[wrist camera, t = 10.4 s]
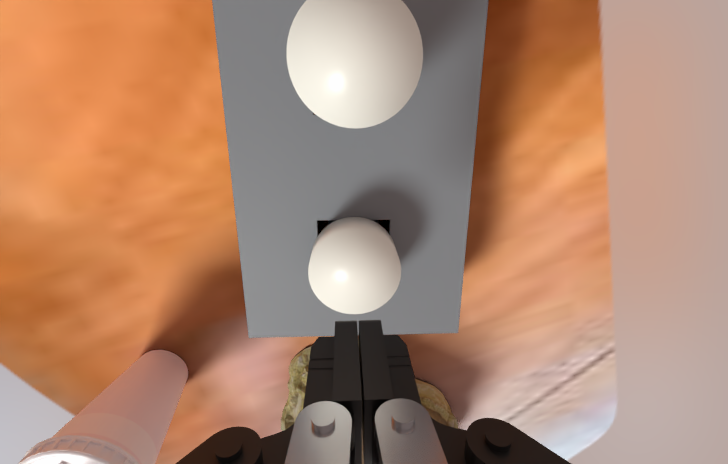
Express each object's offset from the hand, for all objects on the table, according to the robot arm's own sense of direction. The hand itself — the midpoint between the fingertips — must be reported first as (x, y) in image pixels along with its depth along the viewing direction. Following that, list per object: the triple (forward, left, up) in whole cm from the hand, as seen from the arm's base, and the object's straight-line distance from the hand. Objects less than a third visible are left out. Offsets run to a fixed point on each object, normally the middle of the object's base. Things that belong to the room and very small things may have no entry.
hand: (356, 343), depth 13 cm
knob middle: (-9, 0, -9) cm, 13 cm away
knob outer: (0, 0, -13) cm, 13 cm away
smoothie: (+11, -14, -13) cm, 22 cm away
